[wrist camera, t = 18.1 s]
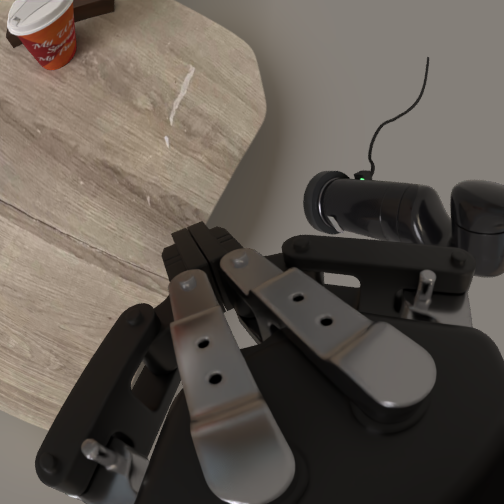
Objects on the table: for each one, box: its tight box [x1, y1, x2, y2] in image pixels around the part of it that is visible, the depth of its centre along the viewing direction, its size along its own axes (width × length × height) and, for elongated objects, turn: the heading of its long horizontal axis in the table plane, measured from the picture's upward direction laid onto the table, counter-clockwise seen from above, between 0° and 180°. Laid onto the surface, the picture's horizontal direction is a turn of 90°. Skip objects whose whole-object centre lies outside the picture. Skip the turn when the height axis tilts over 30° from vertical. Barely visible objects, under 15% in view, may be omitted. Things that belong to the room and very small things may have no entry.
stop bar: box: [6, 0, 114, 48], centre depth 18 cm, size 16×2×4 cm, turn 103°
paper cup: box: [7, 0, 76, 70], centre depth 15 cm, size 8×8×14 cm
